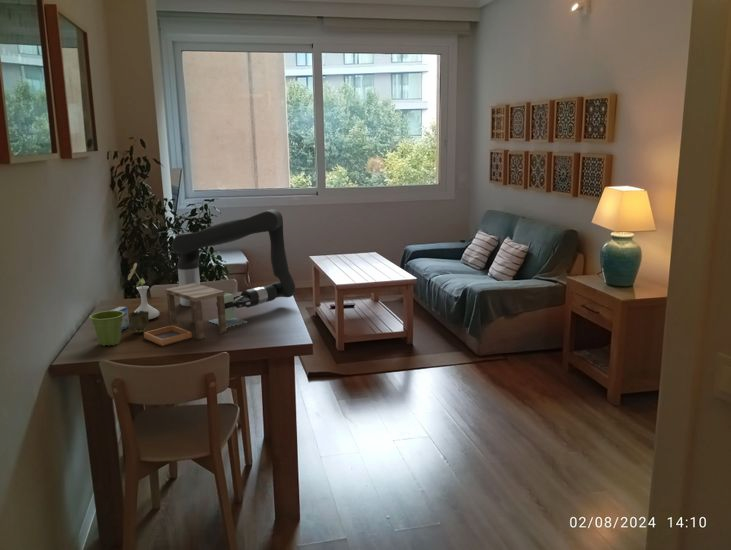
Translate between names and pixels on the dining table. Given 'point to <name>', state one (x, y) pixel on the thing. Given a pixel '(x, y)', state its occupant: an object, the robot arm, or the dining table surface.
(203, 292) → the walnut table
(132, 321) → the cup
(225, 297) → the sage block
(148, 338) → the shallow orange tray
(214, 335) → the dining table surface
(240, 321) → the slate mat
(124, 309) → the medicine box
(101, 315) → the plant pot
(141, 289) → the flower in vase
